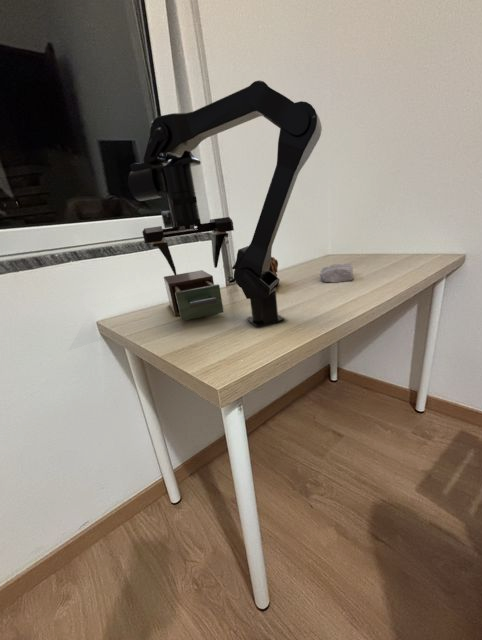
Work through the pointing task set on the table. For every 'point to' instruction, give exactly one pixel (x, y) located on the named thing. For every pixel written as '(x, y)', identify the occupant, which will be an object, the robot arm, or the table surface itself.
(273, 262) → the wooden carving
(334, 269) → the stone block
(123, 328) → the table surface
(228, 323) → the table surface
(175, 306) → the cabinet
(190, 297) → the drawer
